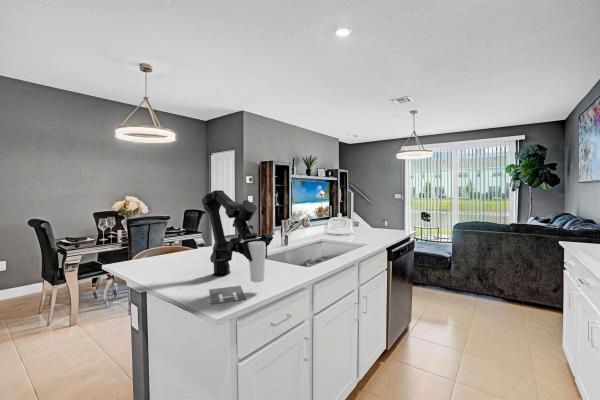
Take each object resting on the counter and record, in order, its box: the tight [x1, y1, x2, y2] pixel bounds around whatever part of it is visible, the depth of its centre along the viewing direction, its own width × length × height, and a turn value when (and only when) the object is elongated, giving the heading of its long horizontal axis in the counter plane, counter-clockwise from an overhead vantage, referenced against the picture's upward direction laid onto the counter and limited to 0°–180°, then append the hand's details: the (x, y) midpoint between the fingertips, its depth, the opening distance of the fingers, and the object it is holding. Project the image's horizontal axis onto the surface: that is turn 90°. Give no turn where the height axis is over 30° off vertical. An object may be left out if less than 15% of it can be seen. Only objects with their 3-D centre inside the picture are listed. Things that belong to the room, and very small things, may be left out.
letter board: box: [209, 285, 247, 305], centre depth 112 cm, size 16×12×1 cm
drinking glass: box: [248, 241, 266, 283], centre depth 115 cm, size 7×7×15 cm
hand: (258, 259), depth 114 cm, fingers closed on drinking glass, 6 cm apart
